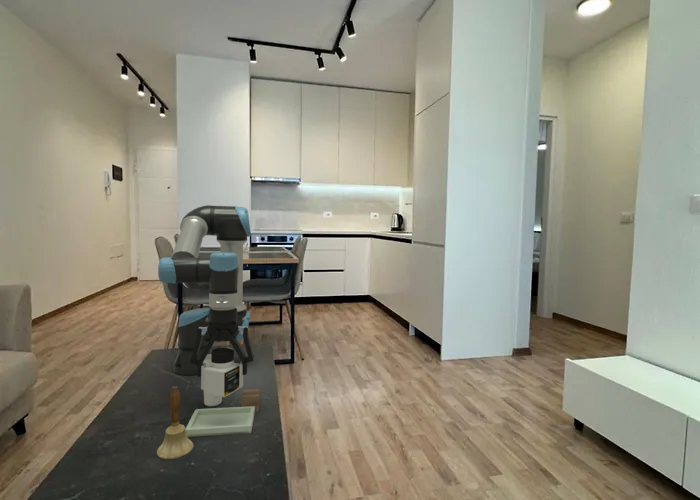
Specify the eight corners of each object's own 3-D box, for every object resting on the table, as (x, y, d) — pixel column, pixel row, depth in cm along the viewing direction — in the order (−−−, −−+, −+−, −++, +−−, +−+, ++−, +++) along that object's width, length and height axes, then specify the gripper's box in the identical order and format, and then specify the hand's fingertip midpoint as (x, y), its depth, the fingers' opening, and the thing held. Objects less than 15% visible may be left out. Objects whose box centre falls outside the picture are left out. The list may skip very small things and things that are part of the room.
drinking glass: (216, 409, 116) (217, 361, 116) (197, 406, 118) (197, 359, 117) (228, 400, 123) (228, 354, 122) (209, 397, 124) (209, 352, 124)
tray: (195, 415, 112) (195, 409, 112) (254, 412, 115) (254, 406, 115) (184, 437, 100) (184, 429, 100) (251, 433, 103) (251, 425, 103)
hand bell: (177, 462, 89) (177, 395, 89) (148, 455, 92) (148, 390, 91) (200, 443, 97) (201, 382, 97) (173, 438, 100) (173, 378, 99)
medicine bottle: (224, 397, 102) (225, 353, 102) (203, 393, 105) (203, 350, 104) (240, 388, 109) (241, 346, 108) (220, 384, 111) (220, 343, 111)
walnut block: (243, 405, 119) (243, 390, 119) (259, 404, 120) (259, 389, 120) (241, 413, 115) (241, 396, 114) (258, 412, 115) (258, 396, 115)
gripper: (177, 310, 101) (177, 394, 101) (263, 309, 104) (262, 390, 105) (185, 305, 108) (184, 383, 109) (264, 305, 112) (263, 380, 112)
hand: (222, 386), depth 107 cm, fingers closed on medicine bottle, 9 cm apart
